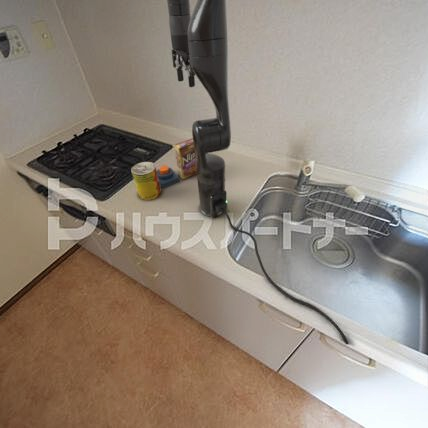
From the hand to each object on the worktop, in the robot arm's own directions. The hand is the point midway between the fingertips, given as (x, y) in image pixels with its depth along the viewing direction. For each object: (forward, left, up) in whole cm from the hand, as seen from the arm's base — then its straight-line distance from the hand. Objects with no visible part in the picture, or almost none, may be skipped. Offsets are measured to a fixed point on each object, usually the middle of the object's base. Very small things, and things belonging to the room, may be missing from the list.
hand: (186, 83), depth 92 cm
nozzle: (-8, +19, -29) cm, 35 cm away
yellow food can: (-12, +28, -33) cm, 45 cm away
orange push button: (-8, +19, -33) cm, 38 cm away
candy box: (-11, +9, -33) cm, 36 cm away
